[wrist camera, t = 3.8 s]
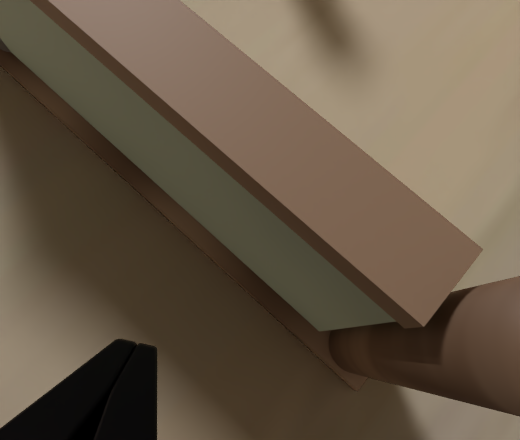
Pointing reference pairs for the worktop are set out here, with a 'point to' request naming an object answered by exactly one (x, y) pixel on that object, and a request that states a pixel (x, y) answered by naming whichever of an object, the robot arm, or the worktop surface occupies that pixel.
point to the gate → (245, 158)
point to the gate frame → (362, 337)
